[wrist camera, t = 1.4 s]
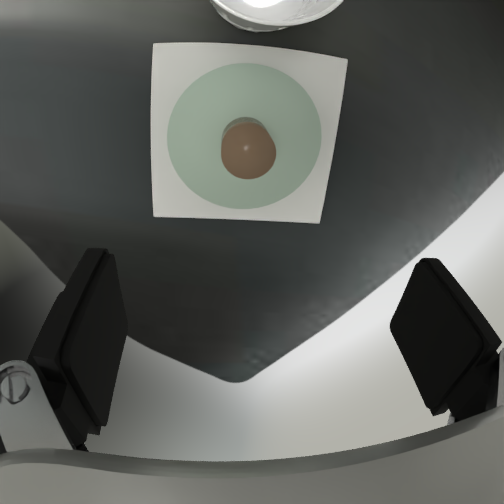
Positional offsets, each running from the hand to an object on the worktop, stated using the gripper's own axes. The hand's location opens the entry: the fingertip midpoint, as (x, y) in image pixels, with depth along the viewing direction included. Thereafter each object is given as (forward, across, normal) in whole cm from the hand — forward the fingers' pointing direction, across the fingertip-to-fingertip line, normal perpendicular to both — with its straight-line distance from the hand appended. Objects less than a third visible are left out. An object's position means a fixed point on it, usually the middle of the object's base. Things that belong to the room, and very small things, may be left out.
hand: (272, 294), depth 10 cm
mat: (+19, 0, 0) cm, 19 cm away
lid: (+18, 0, 0) cm, 18 cm away
